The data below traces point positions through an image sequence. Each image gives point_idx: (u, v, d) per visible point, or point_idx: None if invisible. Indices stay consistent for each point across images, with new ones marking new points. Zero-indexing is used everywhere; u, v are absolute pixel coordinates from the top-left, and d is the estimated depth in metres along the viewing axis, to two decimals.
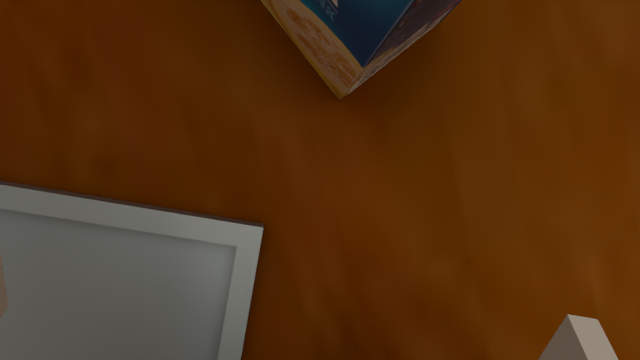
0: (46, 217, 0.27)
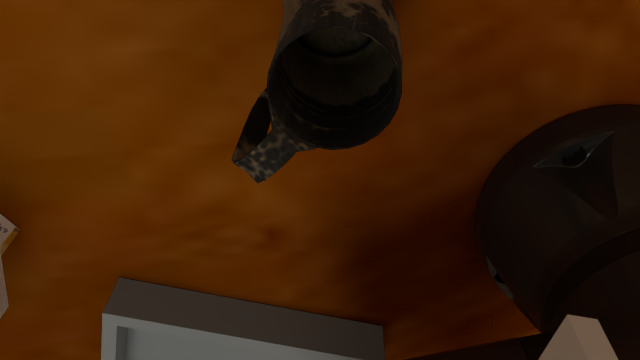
0: None
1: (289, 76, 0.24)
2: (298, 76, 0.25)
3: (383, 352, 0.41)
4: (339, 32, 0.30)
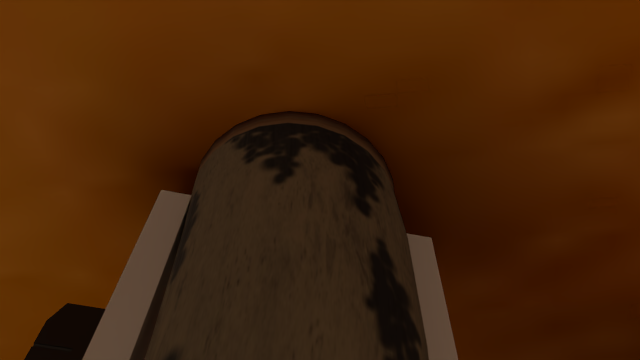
0: None
1: None
2: None
3: None
4: None
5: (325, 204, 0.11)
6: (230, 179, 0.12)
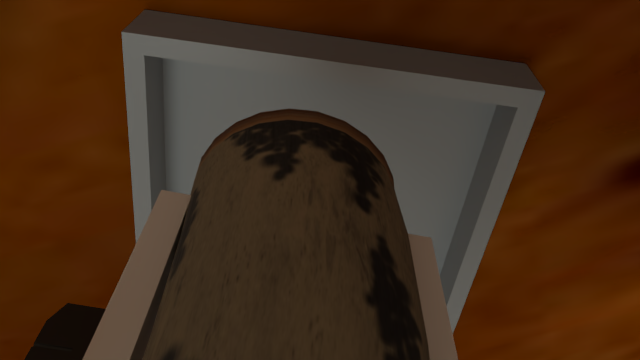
0: (171, 183, 0.34)
1: None
2: None
3: (537, 83, 0.27)
4: None
5: (325, 201, 0.11)
6: (230, 176, 0.12)
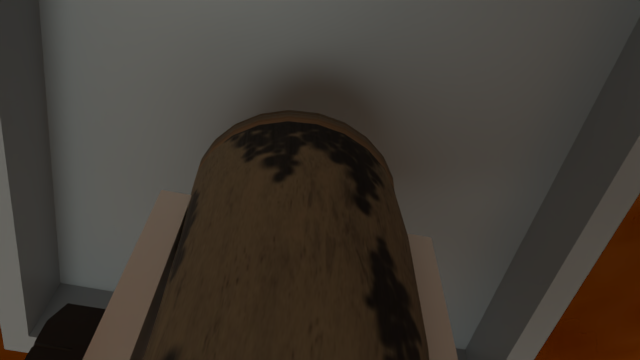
0: (57, 102, 0.19)
1: None
2: None
3: None
4: None
5: (325, 202, 0.11)
6: (229, 178, 0.12)
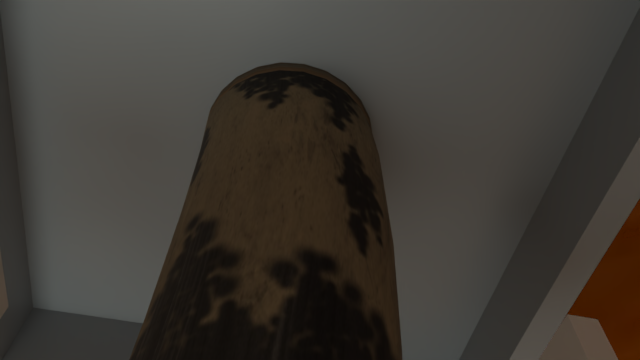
0: (23, 122, 0.18)
1: None
2: None
3: None
4: None
5: (308, 120, 0.14)
6: (234, 111, 0.15)
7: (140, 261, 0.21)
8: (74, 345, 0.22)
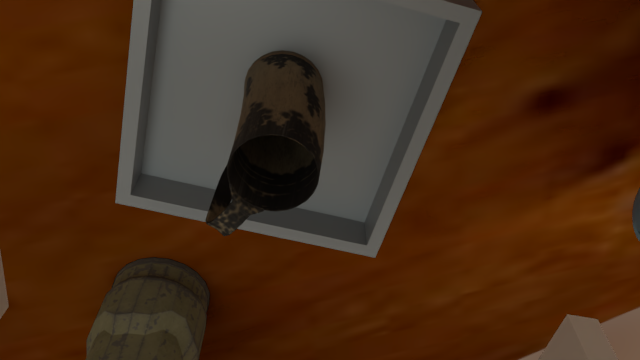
0: (158, 71, 0.38)
1: (246, 155, 0.33)
2: (254, 152, 0.35)
3: (477, 6, 0.34)
4: None
5: (294, 73, 0.34)
6: (263, 69, 0.35)
7: (202, 148, 0.42)
8: (165, 190, 0.42)
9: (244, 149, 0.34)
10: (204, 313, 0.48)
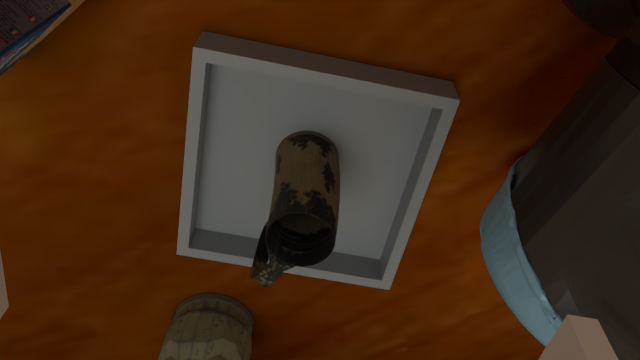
0: (207, 150, 0.48)
1: (279, 220, 0.43)
2: (285, 216, 0.44)
3: (456, 94, 0.43)
4: None
5: (314, 154, 0.44)
6: (289, 150, 0.45)
7: (244, 207, 0.51)
8: (215, 242, 0.52)
9: None
10: (250, 338, 0.58)
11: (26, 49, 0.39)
